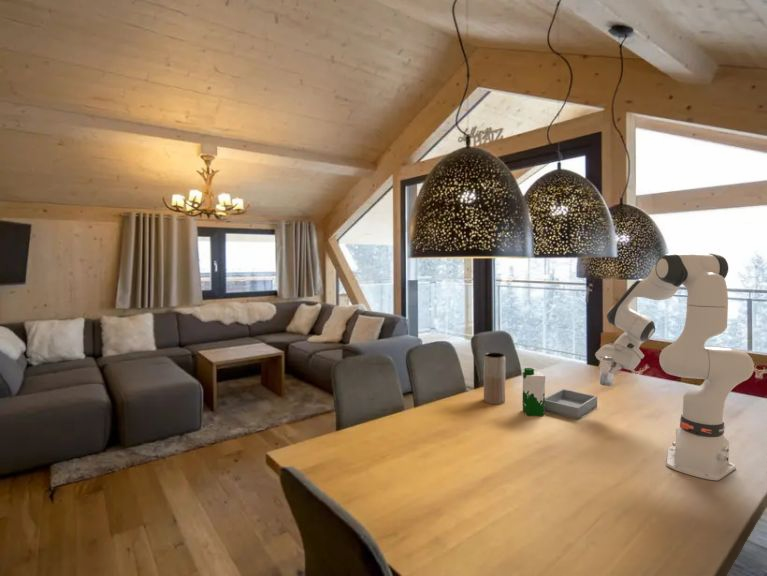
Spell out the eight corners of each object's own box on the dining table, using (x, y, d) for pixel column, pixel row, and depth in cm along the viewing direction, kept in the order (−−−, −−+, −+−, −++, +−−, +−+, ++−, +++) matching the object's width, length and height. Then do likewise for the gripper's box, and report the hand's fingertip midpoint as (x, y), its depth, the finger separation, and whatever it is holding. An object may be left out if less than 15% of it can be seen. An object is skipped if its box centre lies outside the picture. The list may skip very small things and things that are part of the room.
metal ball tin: (610, 386, 185) (611, 358, 184) (597, 384, 189) (598, 356, 188) (614, 384, 189) (615, 356, 188) (602, 381, 193) (603, 354, 192)
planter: (486, 396, 215) (486, 351, 214) (506, 399, 211) (507, 353, 209) (481, 402, 206) (481, 355, 205) (502, 405, 202) (503, 357, 200)
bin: (577, 419, 184) (577, 408, 184) (541, 410, 195) (541, 399, 195) (597, 406, 199) (597, 396, 199) (562, 398, 211) (562, 388, 210)
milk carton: (520, 409, 196) (520, 366, 195) (540, 409, 196) (540, 366, 195) (526, 416, 188) (526, 371, 186) (547, 416, 188) (547, 371, 186)
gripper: (603, 338, 199) (584, 360, 198) (639, 347, 179) (618, 372, 178) (611, 347, 201) (592, 369, 199) (647, 357, 181) (627, 381, 179)
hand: (605, 370), depth 188 cm, fingers closed on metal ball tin, 5 cm apart
